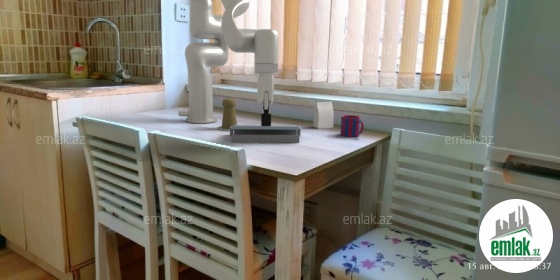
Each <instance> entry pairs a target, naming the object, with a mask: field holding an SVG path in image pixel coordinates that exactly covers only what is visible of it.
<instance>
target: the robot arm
mask: <svg viewBox="0 0 560 280" xmlns="http://www.w3.org/2000/svg"><path fill="white" fill-rule="evenodd" d="M221 3H222V5H223V7H224V12H223V14H222V15H220V14H214V12H213V11H214V3H213V0H190V6H189V7H190V8H189V33H190V35H191V36H192V37H193V38H195V39H199V40H213V42H203V41H202V42H191V43H189V44H188V45H187V46H185V49H184V57H185V62H186V66H187V76H188V77H187V79H188V80H187V81H188V105H189V107H188V109H189V110H186V111H183V110H179V111H178V116H179V117H186V118H185V121H186V123H189V124H212V123H215V122H217V121H218V117H216V116H214V106H213V105H214V104H213V103H214V99H213V95H214V94H213V76H212V74H211V72H210V71H209V69H208V68H209V67H211V68H212V67H213V68H214V67H216V68H217V67H223V66H225V65H226V64H227V62H228V59H229V54H230V53H229V50H231V51H232V52H233V53H239V54H240V53H242V54H243V53H248V54H249V53H250V54H254V55H253V56H254V57H253V59H254V75H257V84H256V85H257V87H256V88H257V91H256V92H257V93H256V94H257V97H256V98H257V100H256V101H257V105H258V106H260V105H261V112H260V114H261V115H260V117H261V118H260V119H261V120H260V121H261V122H260V123H261V124H260V125H261V126H271V125H272V113H271V107H272V106H273V103H274V94H275V93H274V91H275V75H278V74H279V33H278V31H277V30H276V29H272V28H269V29H268V28H260V29H253V28H238V26H237V24H236V22H235V19H236V18H238V17H240V16H242V15H243V14H245V13H246V12H247V11H248V9H249V7H250V1H249V0H221Z"/></svg>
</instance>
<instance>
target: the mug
mask: <svg viewBox="0 0 560 280" xmlns="http://www.w3.org/2000/svg"><path fill="white" fill-rule="evenodd" d="M340 119H341V120H340V136H342V137H345V138H358V137H359V136H360V135H361V134H362V133H363V132H364V128H365V123H364V121H363V120H361V116H359V115H352V114H343V115H341V116H340Z"/></svg>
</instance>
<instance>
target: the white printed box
mask: <svg viewBox="0 0 560 280" xmlns="http://www.w3.org/2000/svg"><path fill="white" fill-rule="evenodd" d="M333 107H334V106H333V101H317V102H316V105H315V107H314V111H313V128H316V129H317V130H320V129H331V128H332V129H333V128H334V122H335V121H334V120H335V118H334V117H335V112H334V108H333Z"/></svg>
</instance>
